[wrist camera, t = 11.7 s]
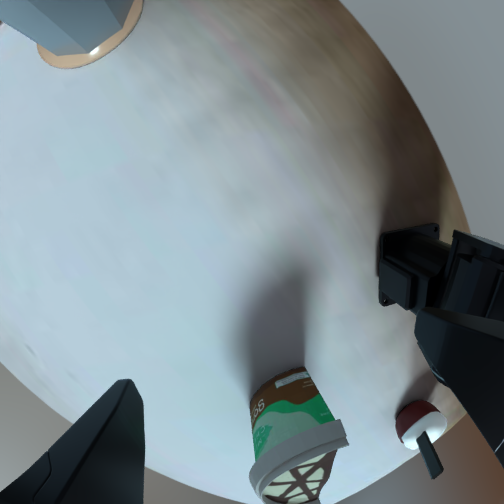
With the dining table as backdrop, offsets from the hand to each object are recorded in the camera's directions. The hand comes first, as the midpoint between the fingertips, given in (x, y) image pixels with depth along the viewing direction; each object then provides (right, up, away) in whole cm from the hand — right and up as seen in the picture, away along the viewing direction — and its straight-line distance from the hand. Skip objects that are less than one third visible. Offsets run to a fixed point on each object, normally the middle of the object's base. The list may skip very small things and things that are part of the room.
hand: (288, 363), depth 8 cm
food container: (+1, -12, +18) cm, 21 cm away
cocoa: (+20, -18, +22) cm, 35 cm away
